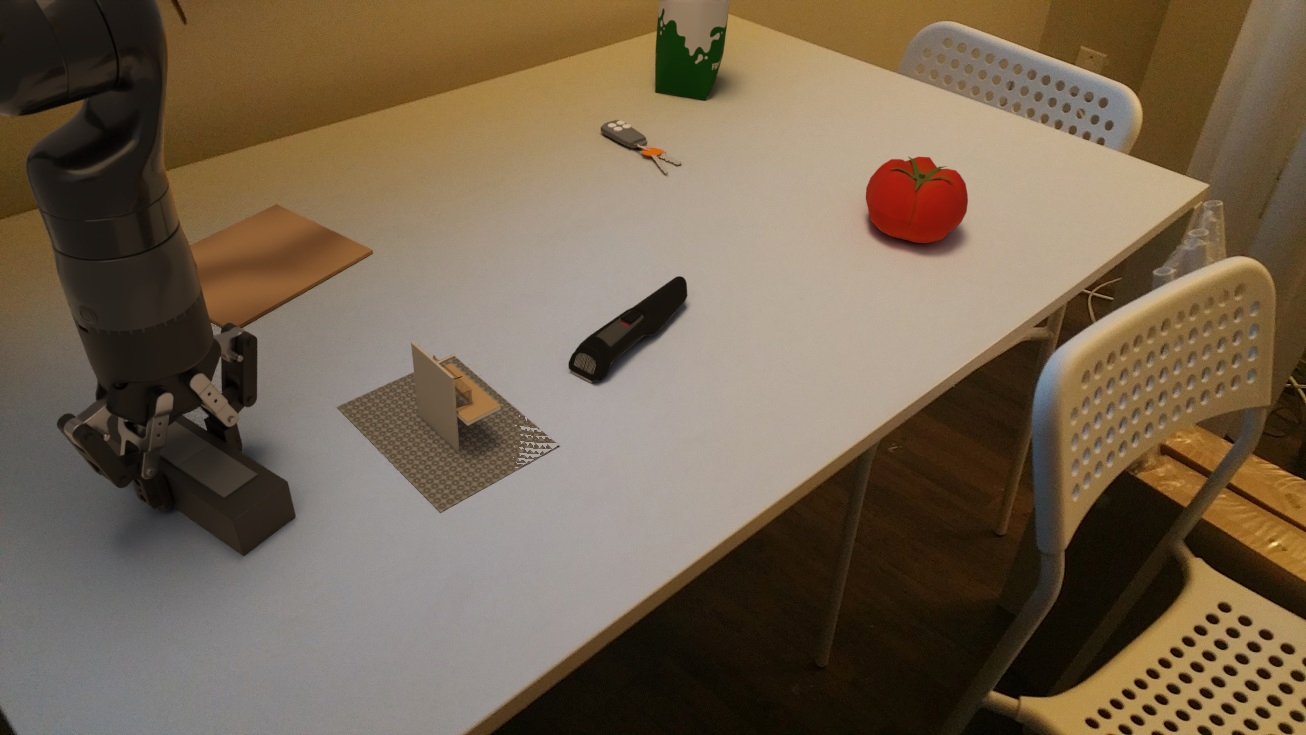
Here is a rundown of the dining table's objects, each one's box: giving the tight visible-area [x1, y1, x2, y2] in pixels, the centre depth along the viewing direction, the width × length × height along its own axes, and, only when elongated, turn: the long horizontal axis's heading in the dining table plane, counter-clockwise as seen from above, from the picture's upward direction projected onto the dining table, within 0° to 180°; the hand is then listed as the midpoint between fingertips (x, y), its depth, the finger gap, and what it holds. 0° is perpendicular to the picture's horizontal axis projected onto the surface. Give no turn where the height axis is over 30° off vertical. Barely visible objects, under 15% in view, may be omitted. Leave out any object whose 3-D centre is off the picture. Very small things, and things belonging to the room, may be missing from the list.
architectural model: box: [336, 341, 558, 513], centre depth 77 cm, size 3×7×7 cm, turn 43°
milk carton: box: [654, 0, 731, 101], centre depth 129 cm, size 9×9×20 cm
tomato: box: [865, 156, 969, 244], centre depth 108 cm, size 11×11×8 cm
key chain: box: [600, 119, 683, 175], centre depth 120 cm, size 13×4×2 cm, turn 41°
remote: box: [106, 414, 297, 556], centre depth 72 cm, size 16×5×4 cm, turn 57°
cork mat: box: [189, 203, 374, 329], centre depth 95 cm, size 14×17×1 cm
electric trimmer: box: [568, 275, 688, 384], centre depth 90 cm, size 4×16×3 cm, turn 145°
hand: (194, 480), depth 72 cm, fingers open, 5 cm apart
